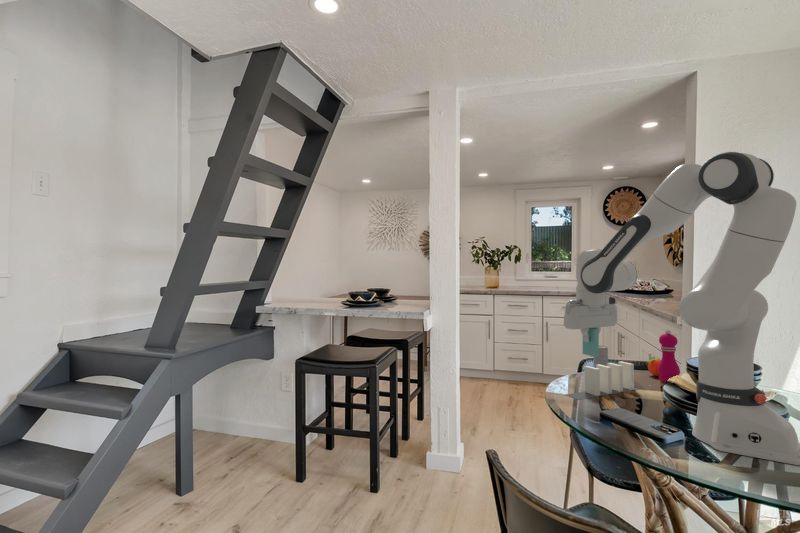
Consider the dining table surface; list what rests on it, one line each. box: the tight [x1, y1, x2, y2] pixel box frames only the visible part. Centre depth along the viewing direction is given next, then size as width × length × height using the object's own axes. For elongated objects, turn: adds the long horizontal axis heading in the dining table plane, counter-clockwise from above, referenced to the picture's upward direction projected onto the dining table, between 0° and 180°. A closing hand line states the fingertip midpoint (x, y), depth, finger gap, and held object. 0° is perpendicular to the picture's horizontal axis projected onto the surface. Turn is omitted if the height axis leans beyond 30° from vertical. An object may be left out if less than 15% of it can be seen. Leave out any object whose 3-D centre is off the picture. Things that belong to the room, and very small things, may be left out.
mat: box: [565, 387, 638, 401], centre depth 146 cm, size 29×6×1 cm, turn 113°
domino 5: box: [617, 360, 635, 391], centre depth 150 cm, size 2×5×9 cm, turn 22°
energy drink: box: [593, 345, 609, 368], centre depth 169 cm, size 5×5×12 cm
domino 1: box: [582, 328, 600, 358], centre depth 136 cm, size 2×5×9 cm, turn 23°
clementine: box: [646, 358, 661, 377], centre depth 168 cm, size 8×7×7 cm
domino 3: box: [596, 364, 612, 395], centre depth 146 cm, size 2×5×9 cm, turn 23°
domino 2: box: [584, 365, 600, 397], centre depth 144 cm, size 2×5×9 cm, turn 22°
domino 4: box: [607, 362, 623, 393], centre depth 148 cm, size 2×5×9 cm, turn 23°
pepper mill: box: [658, 329, 681, 383], centre depth 159 cm, size 7×7×20 cm
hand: (590, 341), depth 136 cm, fingers closed on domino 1, 2 cm apart
